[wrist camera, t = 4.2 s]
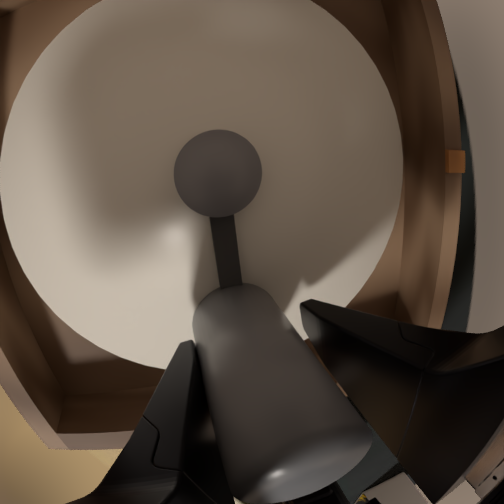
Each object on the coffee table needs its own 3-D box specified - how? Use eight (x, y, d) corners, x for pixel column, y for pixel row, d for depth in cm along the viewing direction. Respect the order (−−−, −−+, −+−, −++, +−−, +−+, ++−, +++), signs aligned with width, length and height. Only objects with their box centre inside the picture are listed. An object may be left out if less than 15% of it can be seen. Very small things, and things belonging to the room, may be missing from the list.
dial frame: (395, 324, 16) (436, 356, 13) (61, 399, 12) (48, 452, 8) (380, -14, 9) (425, -38, 6) (-16, 20, 5) (-54, -5, 2)
